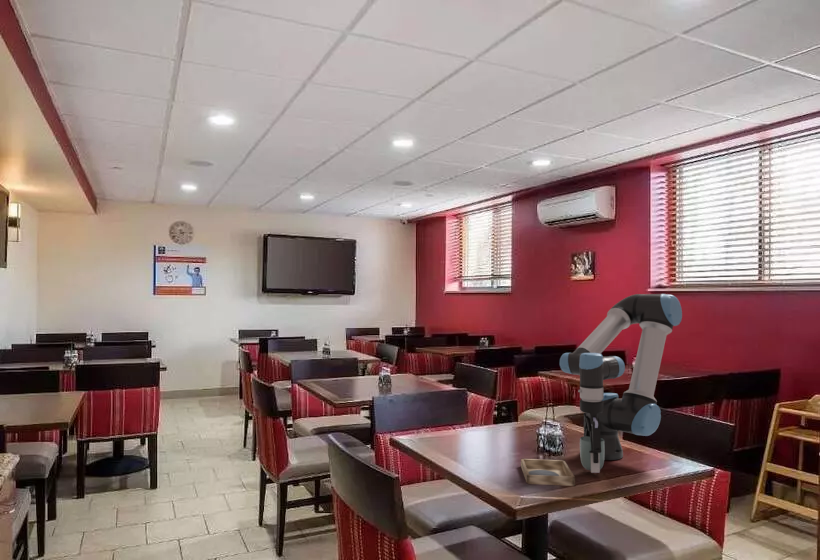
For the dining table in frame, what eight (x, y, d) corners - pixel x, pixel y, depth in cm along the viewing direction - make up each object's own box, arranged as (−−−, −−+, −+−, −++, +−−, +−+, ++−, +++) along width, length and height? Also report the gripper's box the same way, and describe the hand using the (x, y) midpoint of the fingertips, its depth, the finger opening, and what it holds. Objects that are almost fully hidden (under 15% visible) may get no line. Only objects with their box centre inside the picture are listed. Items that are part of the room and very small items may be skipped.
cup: (599, 465, 195) (599, 435, 195) (608, 472, 188) (607, 442, 188) (577, 465, 195) (576, 436, 195) (584, 473, 187) (584, 442, 187)
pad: (556, 471, 194) (556, 470, 194) (561, 480, 184) (561, 479, 184) (526, 470, 195) (526, 469, 195) (529, 479, 185) (529, 478, 185)
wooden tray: (564, 469, 198) (564, 460, 198) (574, 487, 179) (575, 477, 179) (520, 467, 199) (520, 458, 199) (526, 485, 181) (526, 475, 181)
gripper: (574, 393, 202) (574, 458, 202) (586, 405, 182) (587, 478, 181) (595, 394, 202) (596, 459, 201) (611, 406, 181) (611, 478, 181)
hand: (592, 468), depth 191 cm, fingers closed on cup, 8 cm apart
